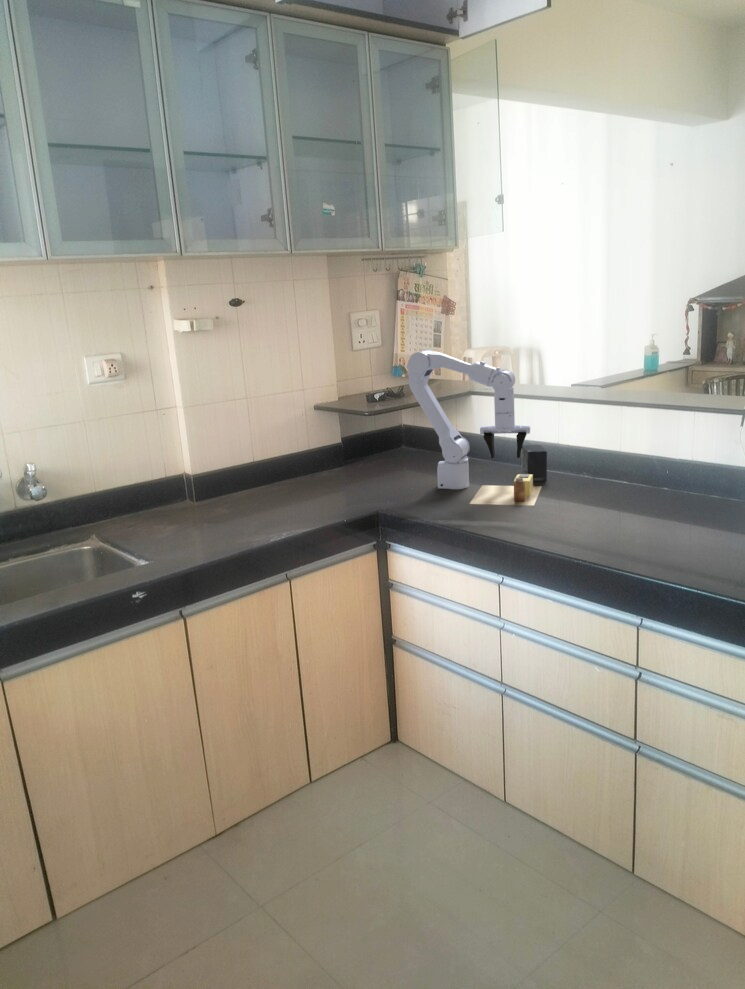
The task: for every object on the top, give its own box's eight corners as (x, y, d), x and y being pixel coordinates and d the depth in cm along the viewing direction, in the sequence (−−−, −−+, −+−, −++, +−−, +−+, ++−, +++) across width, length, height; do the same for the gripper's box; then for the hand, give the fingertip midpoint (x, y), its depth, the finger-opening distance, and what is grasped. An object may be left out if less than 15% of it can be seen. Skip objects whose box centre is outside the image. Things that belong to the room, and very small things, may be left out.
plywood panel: (469, 507, 213) (469, 503, 213) (482, 488, 232) (482, 485, 232) (534, 509, 208) (533, 505, 207) (541, 489, 227) (541, 486, 227)
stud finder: (513, 495, 218) (513, 479, 217) (517, 488, 225) (517, 473, 224) (529, 496, 217) (529, 480, 215) (532, 489, 224) (532, 473, 223)
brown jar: (513, 502, 212) (513, 479, 210) (514, 499, 215) (514, 477, 213) (524, 502, 211) (524, 479, 209) (525, 499, 214) (525, 477, 212)
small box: (548, 483, 233) (548, 450, 231) (527, 485, 233) (526, 451, 231) (541, 475, 243) (541, 443, 241) (521, 477, 244) (520, 445, 241)
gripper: (477, 414, 220) (479, 460, 224) (527, 413, 216) (528, 460, 219) (481, 411, 227) (483, 455, 230) (530, 409, 222) (531, 455, 226)
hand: (505, 457), depth 225 cm, fingers open, 7 cm apart
